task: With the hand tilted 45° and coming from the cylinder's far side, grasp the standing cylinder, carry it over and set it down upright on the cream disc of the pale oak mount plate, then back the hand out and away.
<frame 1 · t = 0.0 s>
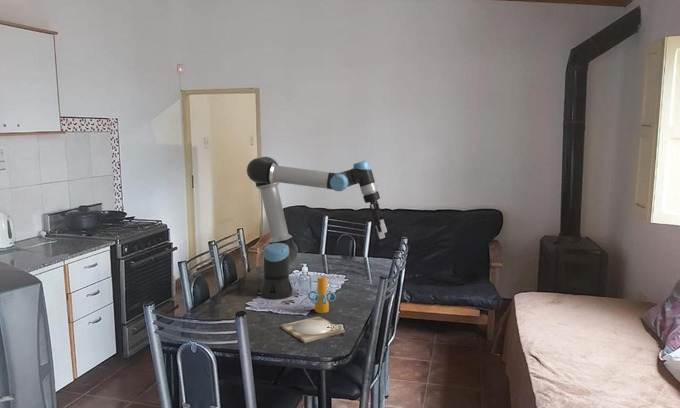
hand: (383, 235, 252), 28 cm above the table, tool tilted 20°, fingers open, 13 cm apart
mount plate: (312, 329, 206), on the table
cylinder: (321, 311, 228), on the table
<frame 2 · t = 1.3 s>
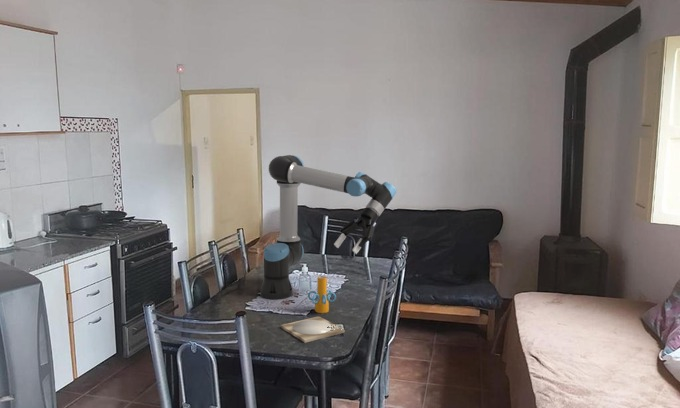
hand: (344, 249, 231), 26 cm above the table, tool tilted 45°, fingers open, 13 cm apart
nothing on the table moved.
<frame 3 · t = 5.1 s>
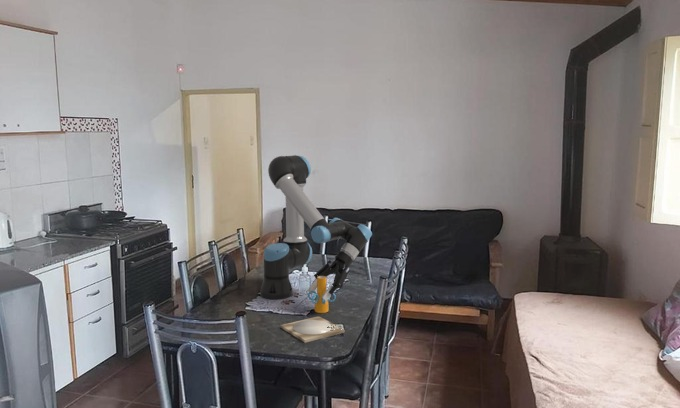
hand: (316, 295, 225), 7 cm above the table, tool tilted 45°, fingers closed on cylinder, 11 cm apart
cylinder: (321, 311, 228), on the table, touching gripper
when the fingers open (10 cm above the table, at t = 12.1 s): cylinder drops 1 cm, resting on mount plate.
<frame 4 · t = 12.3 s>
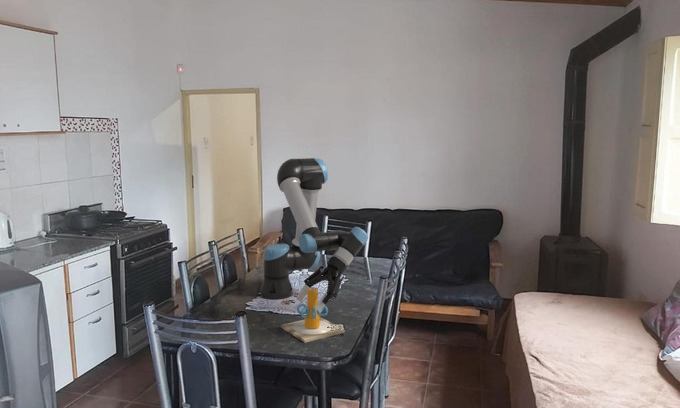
hand: (307, 304, 203), 11 cm above the table, tool tilted 45°, fingers open, 13 cm apart
cylinder: (312, 326, 206), point 1 cm above the table, touching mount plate
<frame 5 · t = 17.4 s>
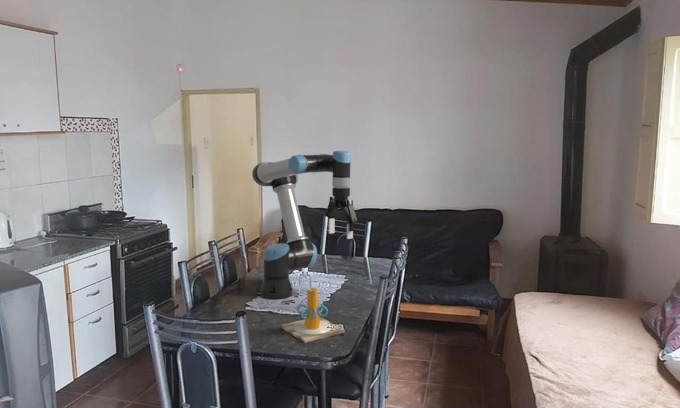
hand: (340, 235, 230), 32 cm above the table, tool pointing down, fingers open, 13 cm apart
nothing on the table moved.
at the end: cylinder inside the target area on the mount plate (0.1 cm from its centre), point 1.1 cm above the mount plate's base; cylinder tilted 0°; the gripper is holding nothing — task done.
